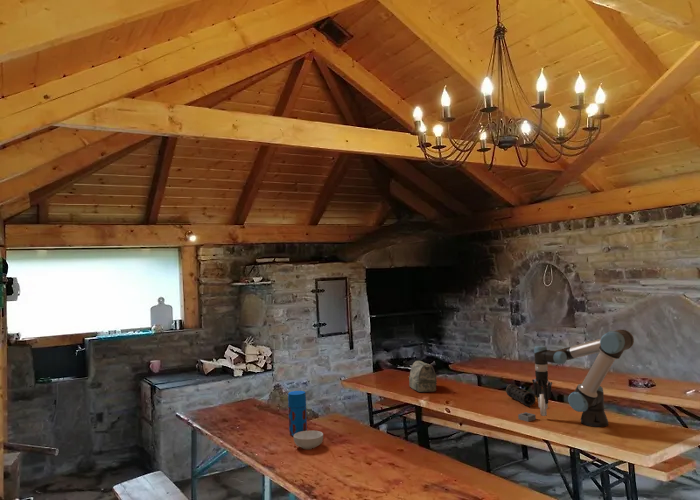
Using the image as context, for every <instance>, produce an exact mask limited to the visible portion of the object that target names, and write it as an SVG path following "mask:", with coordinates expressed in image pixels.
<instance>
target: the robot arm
mask: <svg viewBox="0 0 700 500" xmlns="http://www.w3.org/2000/svg"><path fill="white" fill-rule="evenodd" d="M634 341H635V339H634V335H633V334H632V332H630V331H629V330H626V329H617V330H613V331H611V330H609V331H607V332H606V333H604V334H602V336H601V338H598V339H594V340H590V341H586V342H583V343H580V344H576V345H572V346H568V347H564V348H561V349H556V350H553V349H552V350H550V349H548V348H547V345H546V346H545V345H535V346H534V349H533V353H534V370H535V372H534V374H535V375H534V376H535V378H533V379H531V382H532V385H533V386H532V387H533V393H534V395H535V397H536V398H537V399H536V400H537V403H538V408H539V409H540V394H542V391H543V394H544V397H545V398H544V409H546V410H547V409H549V405H548V404H549V399H550V398H552V385H553V382H552V381H549V379H548V378H549V370H548V369H549V368H548V363H551V364H557V365H560V364H561V365H564V364H566V362H567V361H571V360H574V359H577V358H581V357H585V356H590V355H595V354H597V356H596V358H595V360H594V362H593V363H592V365H591V367H590V369H588V372H587V374H586V375H585V377H584V380H583V381H582V383H579V384H577V386H576V388H575V389H574V391H572V392H571V393H570V394H569V395H568V397H567V401H568V405H569V406H570V408H571V409H572V410H573V411H576V412H578V413H581V416H580V424H582V425H584V426H587V427H594V428H595V427H596V428H602V427H603V428H604V427H607V426H609V419H608V417H607V414H606V412H605V398H604V388H603V386H601V385H602V383H603V381H604V379H605V378H606V376H607V374H608V372H609V371H610V369H611V367H612V366H613V364H614V362H615V360H619V359H620V358H621V356H622V355H623V353H624V351H626V350H629V349H630V348H632V347H633V345H634V343H635V342H634ZM542 389H543V390H542Z"/></svg>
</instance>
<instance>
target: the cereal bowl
mask: <svg viewBox="0 0 700 500" xmlns="http://www.w3.org/2000/svg"><path fill="white" fill-rule="evenodd" d="M323 440H324V433H323V432H322V431H319V430H313V429H312V430H311V429H310V430H307V431H301V432H298V433H296V434H294V436H293V442H294V444H295V445H296V446H297V447H299V448H301V449H302V450H303V449H304V450H312V448H313V449H315V448H316V447H318V446H321V444H322V443H323V442H324V441H323Z"/></svg>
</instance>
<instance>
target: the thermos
mask: <svg viewBox="0 0 700 500" xmlns="http://www.w3.org/2000/svg"><path fill="white" fill-rule="evenodd" d="M306 396H307V394H306V391H303V390H293V391H289V392H288V393H287V405H288V406H287V407H288V409H287V410H288V429H289V430H288V431H289V436H291V437H294V434H296V433H298V432H301V431H308V427H307V426H308V425H307V424H308V423H307V418H308V417H307V397H306Z"/></svg>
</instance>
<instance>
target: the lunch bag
mask: <svg viewBox="0 0 700 500" xmlns="http://www.w3.org/2000/svg"><path fill="white" fill-rule="evenodd" d="M436 374H437V373H436V372H435V368H434V367H433V365H432V364H429V363H426V362H424V361H422V360H415V361H414V362H413V363H412V365H411V368H410V371H409V376H408V381H409V385H408V386H409V387H410V388H411V389H412V390H413V391H414V390H415V391H417V393H431V392H433V393H434V392H437V384H438V383H437V382H438V381H437V375H436Z"/></svg>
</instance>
